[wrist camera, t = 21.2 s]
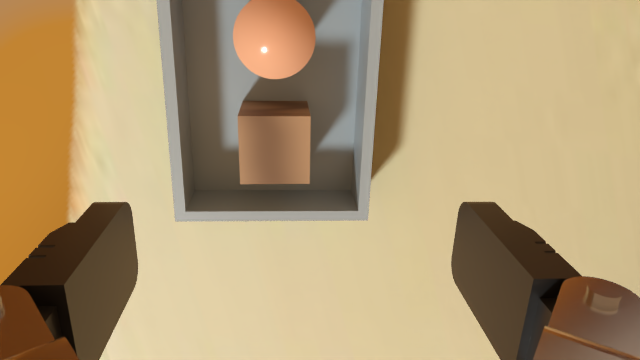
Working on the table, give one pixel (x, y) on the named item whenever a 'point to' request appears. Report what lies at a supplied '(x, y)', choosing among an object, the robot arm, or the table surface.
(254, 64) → the orange round part
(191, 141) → the tote
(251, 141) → the cube
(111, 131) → the table surface
